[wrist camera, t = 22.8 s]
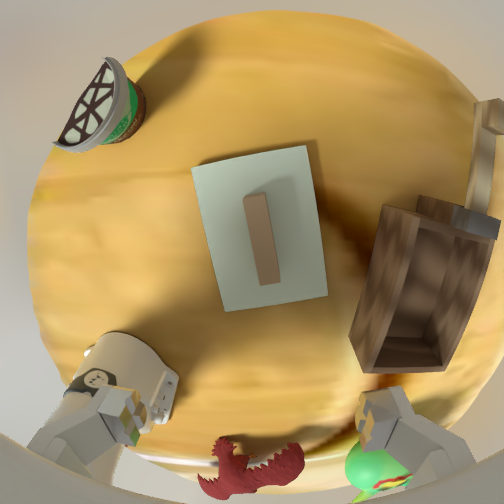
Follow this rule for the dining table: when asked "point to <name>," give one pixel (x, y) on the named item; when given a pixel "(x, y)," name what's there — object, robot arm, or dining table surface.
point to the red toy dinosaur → (251, 471)
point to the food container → (104, 111)
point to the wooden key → (483, 153)
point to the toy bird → (374, 472)
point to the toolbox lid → (262, 228)
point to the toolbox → (421, 286)
